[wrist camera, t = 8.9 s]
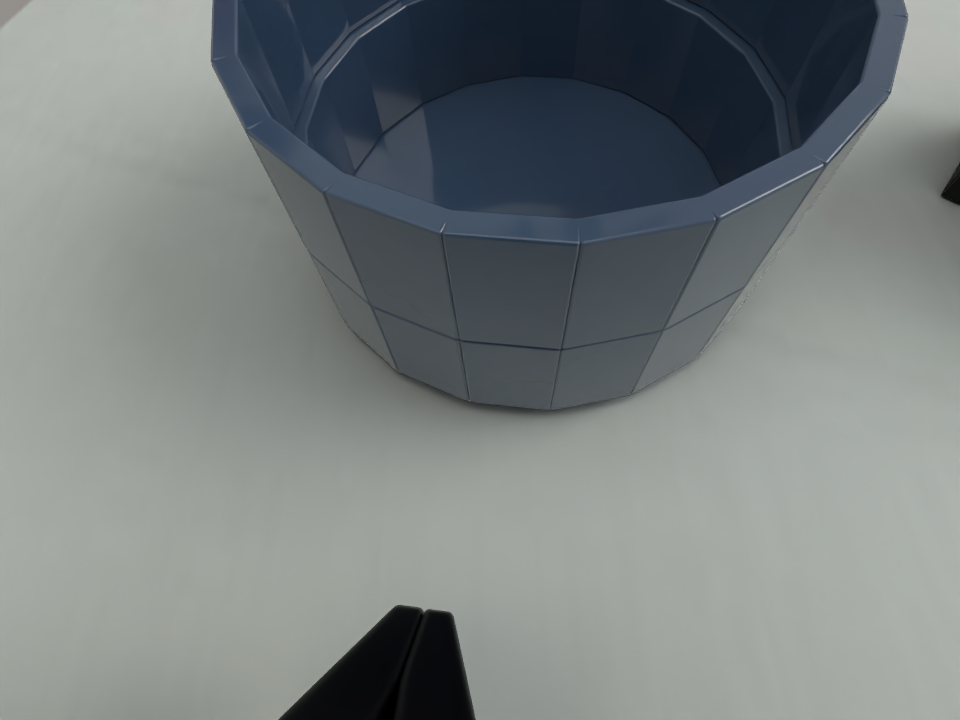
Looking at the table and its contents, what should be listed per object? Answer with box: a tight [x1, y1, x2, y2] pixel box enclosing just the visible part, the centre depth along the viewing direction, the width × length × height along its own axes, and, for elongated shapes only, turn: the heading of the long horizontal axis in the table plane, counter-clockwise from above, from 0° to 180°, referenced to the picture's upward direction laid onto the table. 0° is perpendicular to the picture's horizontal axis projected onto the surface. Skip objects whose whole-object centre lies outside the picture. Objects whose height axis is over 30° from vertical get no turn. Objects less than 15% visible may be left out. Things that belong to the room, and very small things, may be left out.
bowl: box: [211, 0, 908, 410], centre depth 17 cm, size 15×15×8 cm
